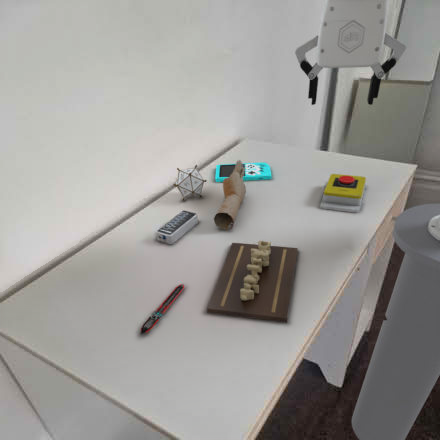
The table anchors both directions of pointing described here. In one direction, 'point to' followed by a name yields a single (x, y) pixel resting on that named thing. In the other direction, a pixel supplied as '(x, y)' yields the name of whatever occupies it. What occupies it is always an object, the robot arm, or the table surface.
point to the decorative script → (255, 269)
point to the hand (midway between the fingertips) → (341, 102)
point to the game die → (189, 182)
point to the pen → (161, 309)
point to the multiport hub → (177, 227)
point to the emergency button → (344, 193)
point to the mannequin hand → (231, 197)
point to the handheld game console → (251, 171)
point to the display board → (268, 284)
